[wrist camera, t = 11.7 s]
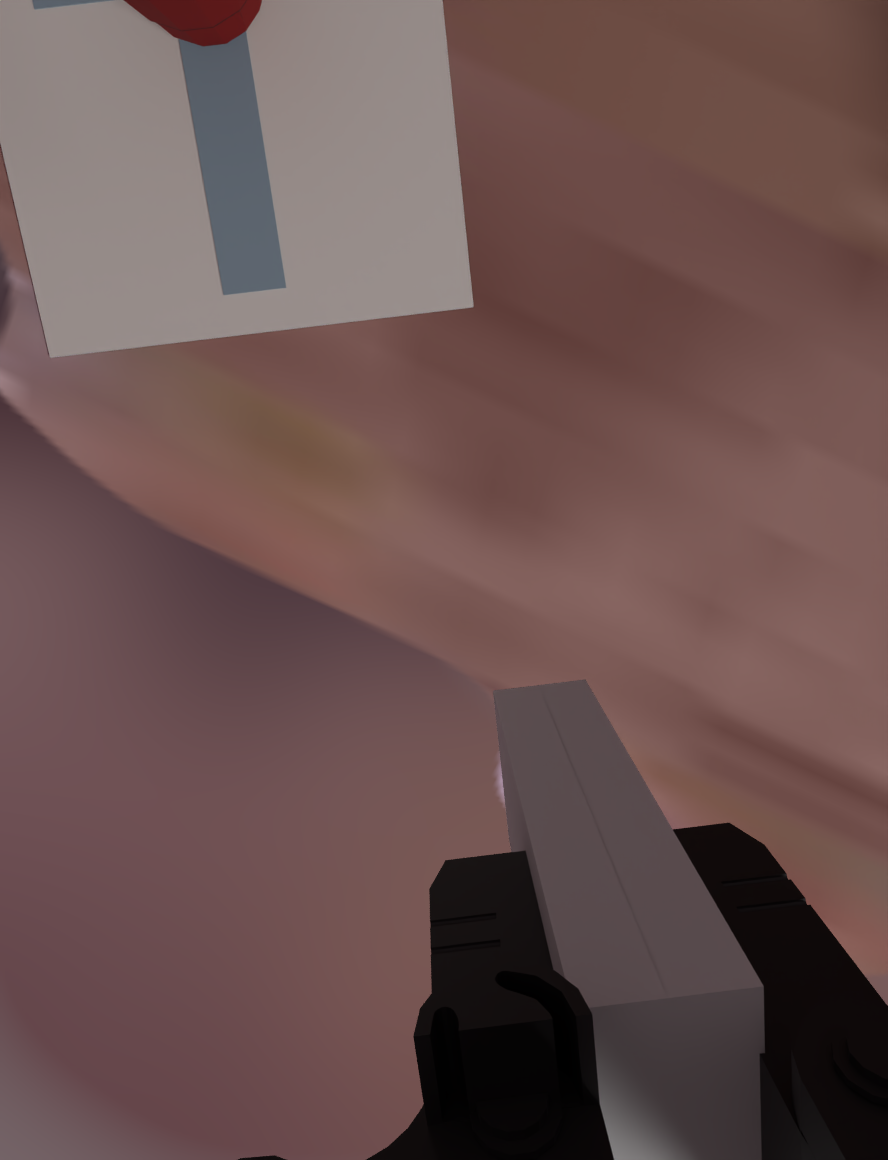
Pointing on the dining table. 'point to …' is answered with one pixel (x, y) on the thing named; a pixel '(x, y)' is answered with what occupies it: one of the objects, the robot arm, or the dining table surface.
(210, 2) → the plastic cup
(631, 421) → the dining table surface
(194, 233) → the placemat
